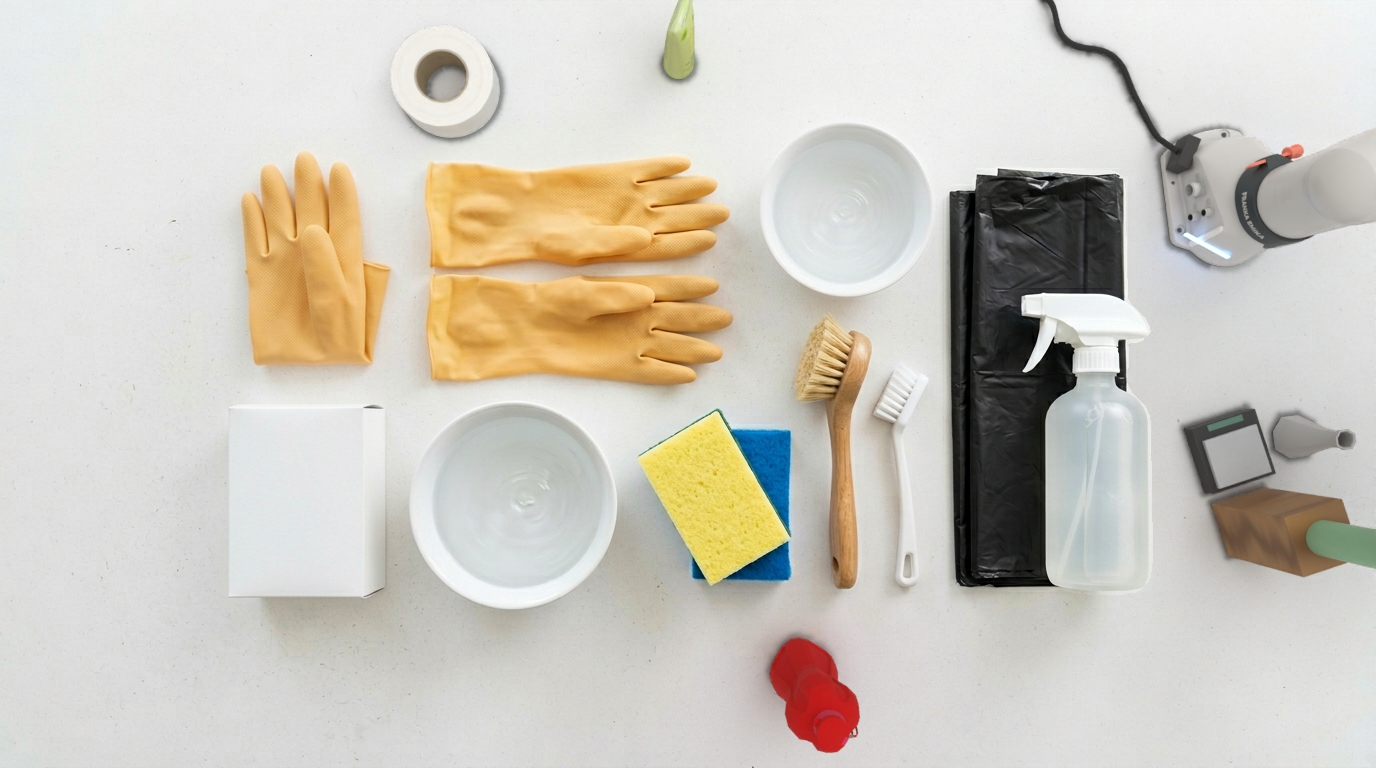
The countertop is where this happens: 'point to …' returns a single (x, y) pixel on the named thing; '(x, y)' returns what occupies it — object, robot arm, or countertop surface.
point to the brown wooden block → (1277, 528)
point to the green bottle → (1343, 542)
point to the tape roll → (427, 56)
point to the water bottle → (814, 696)
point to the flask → (1308, 437)
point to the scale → (1229, 451)
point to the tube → (680, 41)
